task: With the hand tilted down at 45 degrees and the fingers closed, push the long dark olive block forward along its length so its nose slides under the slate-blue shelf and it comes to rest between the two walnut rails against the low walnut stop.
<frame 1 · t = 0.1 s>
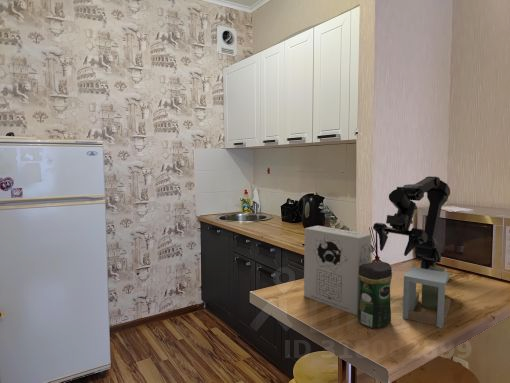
hand: (392, 252, 127), 15 cm above the countertop, tool tilted 30°, fingers open, 9 cm apart
cereal box: (335, 303, 120), on the countertop
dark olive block: (433, 300, 121), on the countertop
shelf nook: (428, 310, 113), on the countertop
coffee jar: (373, 323, 105), on the countertop
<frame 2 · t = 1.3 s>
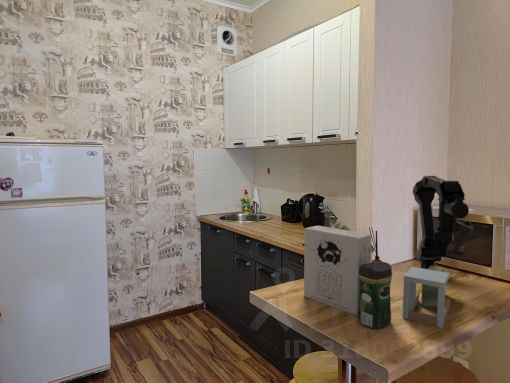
hand: (445, 254, 131), 13 cm above the countertop, tool pointing down, fingers open, 6 cm apart
nothing on the countertop moved.
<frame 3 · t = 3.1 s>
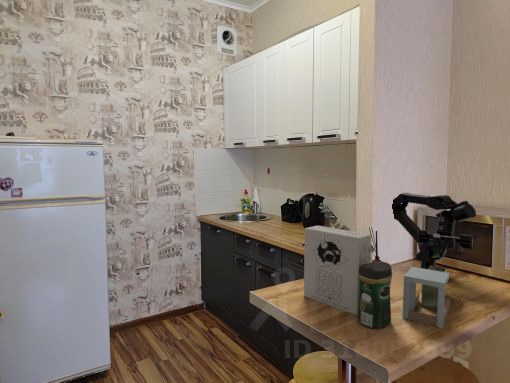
hand: (440, 257, 130), 12 cm above the countertop, tool tilted 45°, fingers closed
nothing on the countertop moved.
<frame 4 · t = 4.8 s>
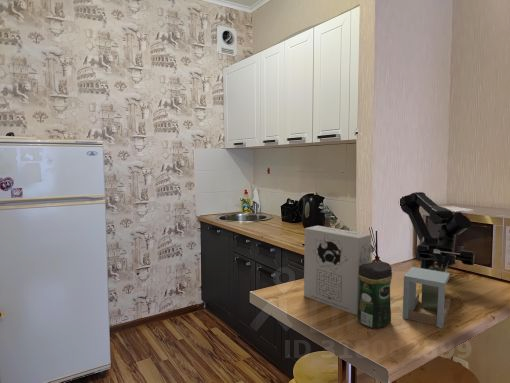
hand: (441, 274, 126), 7 cm above the countertop, tool tilted 45°, fingers closed, pressing on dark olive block
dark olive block: (433, 301, 120), on the countertop, touching gripper
everything else where it was.
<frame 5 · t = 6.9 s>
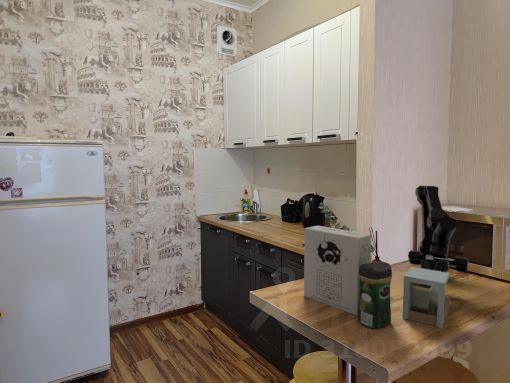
hand: (433, 282, 119), 7 cm above the countertop, tool tilted 45°, fingers closed
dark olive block: (425, 309, 114), on the countertop, touching gripper
everything else where it was.
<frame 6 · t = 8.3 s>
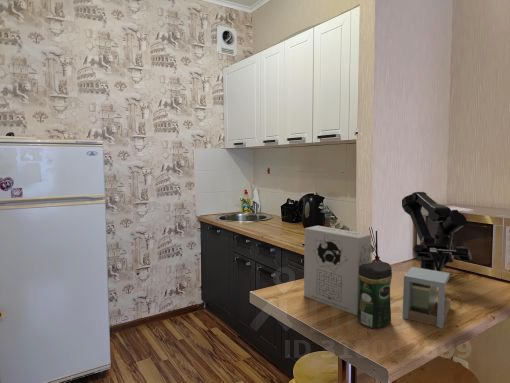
hand: (438, 272, 127), 8 cm above the countertop, tool tilted 40°, fingers closed
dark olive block: (423, 308, 114), on the countertop
everything else where it was.
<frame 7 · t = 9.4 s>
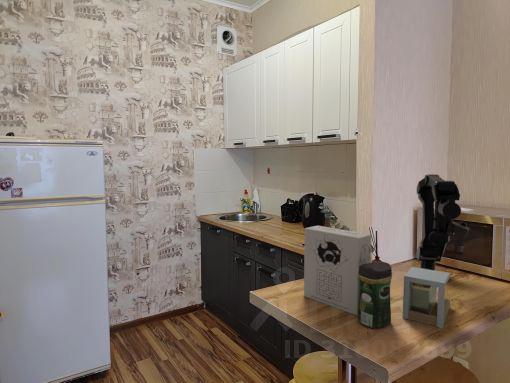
hand: (441, 256, 129), 13 cm above the countertop, tool pointing down, fingers closed
nothing on the countertop moved.
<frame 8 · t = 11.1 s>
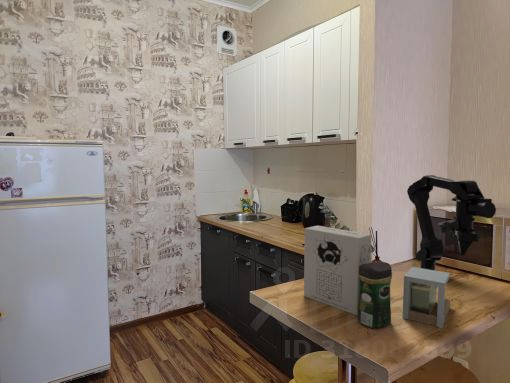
hand: (462, 254, 131), 13 cm above the countertop, tool pointing down, fingers closed
nothing on the countertop moved.
at the end: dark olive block inside the target area on the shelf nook (1.3 cm from its centre), point 0.0 cm above the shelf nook's base; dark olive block tilted 0° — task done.
